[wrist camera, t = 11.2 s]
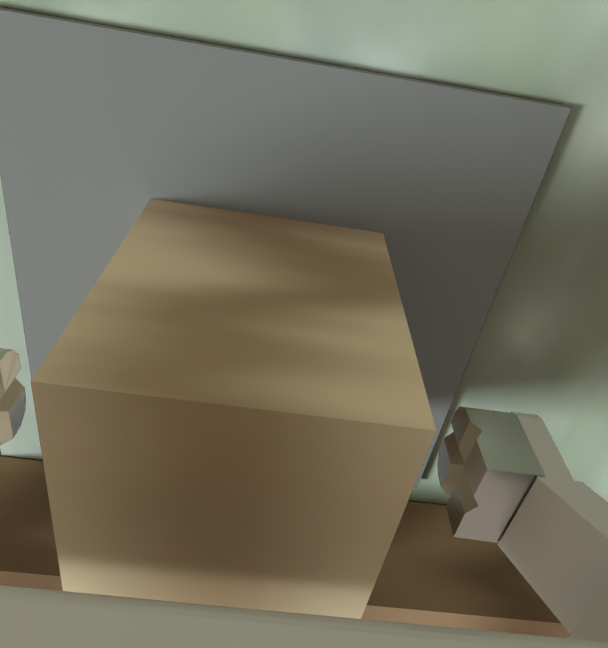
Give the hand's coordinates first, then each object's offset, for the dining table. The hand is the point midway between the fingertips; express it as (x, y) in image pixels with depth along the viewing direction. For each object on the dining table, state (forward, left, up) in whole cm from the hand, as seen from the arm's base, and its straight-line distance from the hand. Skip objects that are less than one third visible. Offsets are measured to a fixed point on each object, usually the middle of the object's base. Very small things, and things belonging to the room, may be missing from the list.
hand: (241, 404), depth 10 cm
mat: (0, 0, -4) cm, 4 cm away
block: (0, 0, -3) cm, 3 cm away
